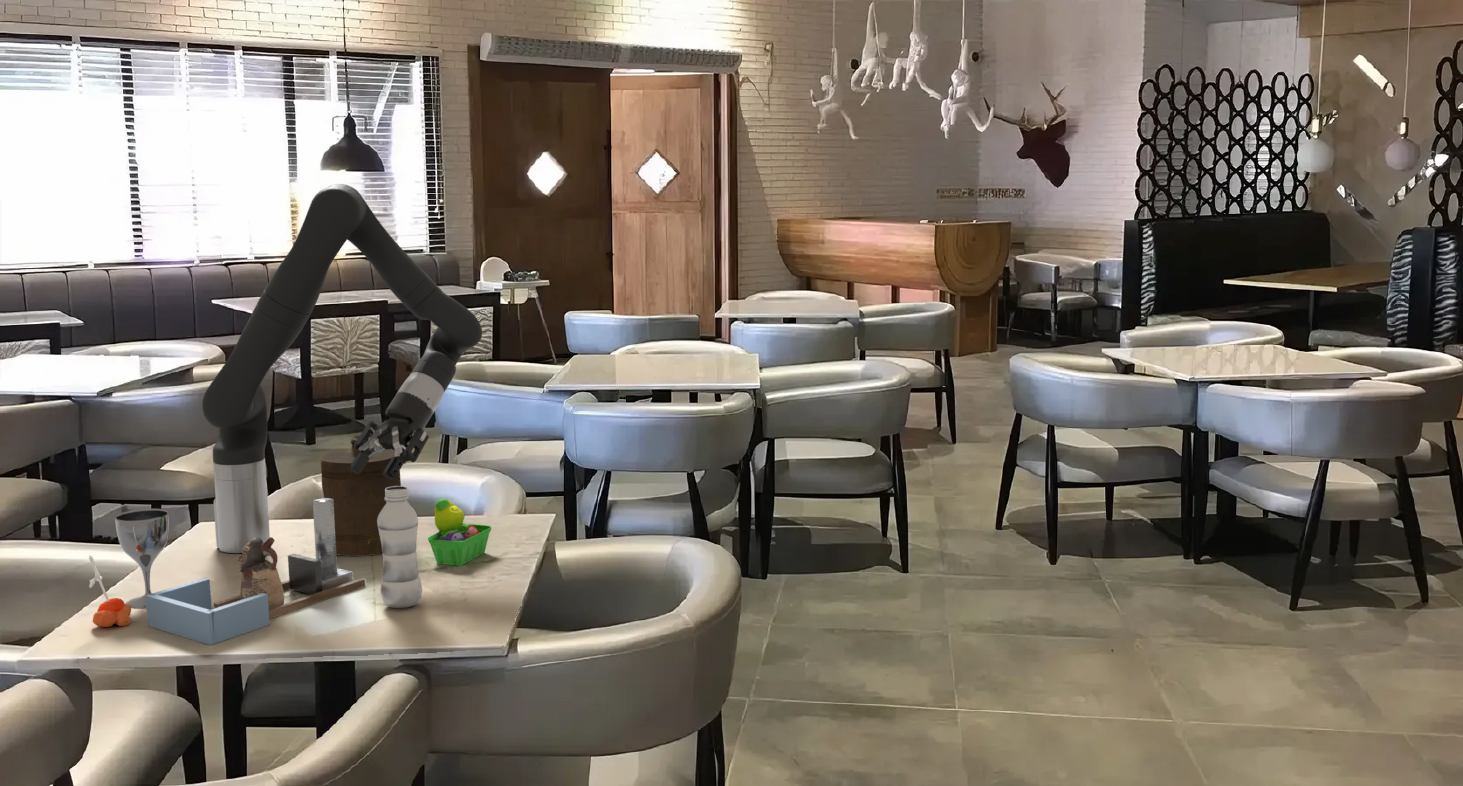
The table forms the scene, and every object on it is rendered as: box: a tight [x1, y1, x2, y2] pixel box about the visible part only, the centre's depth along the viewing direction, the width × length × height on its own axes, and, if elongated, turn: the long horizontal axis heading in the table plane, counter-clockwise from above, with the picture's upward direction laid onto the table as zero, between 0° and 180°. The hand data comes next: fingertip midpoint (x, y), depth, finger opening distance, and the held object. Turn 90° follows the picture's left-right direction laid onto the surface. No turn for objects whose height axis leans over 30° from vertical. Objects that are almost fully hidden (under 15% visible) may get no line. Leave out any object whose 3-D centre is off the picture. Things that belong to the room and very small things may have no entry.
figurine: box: [237, 536, 285, 609], centre depth 204 cm, size 7×7×12 cm
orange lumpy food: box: [88, 555, 132, 628], centre depth 195 cm, size 6×10×12 cm, turn 170°
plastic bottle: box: [377, 485, 423, 609], centre depth 204 cm, size 6×7×20 cm
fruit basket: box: [427, 498, 492, 567], centre depth 232 cm, size 11×9×11 cm
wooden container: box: [320, 433, 402, 557], centre depth 239 cm, size 15×15×22 cm
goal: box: [144, 577, 270, 646], centre depth 196 cm, size 16×11×5 cm, turn 57°
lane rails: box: [213, 578, 366, 619], centre depth 209 cm, size 11×22×1 cm, turn 148°
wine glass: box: [114, 508, 170, 609], centre depth 207 cm, size 8×8×15 cm
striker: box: [287, 497, 354, 595], centre depth 214 cm, size 7×8×15 cm
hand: (370, 474), depth 222 cm, fingers open, 8 cm apart
